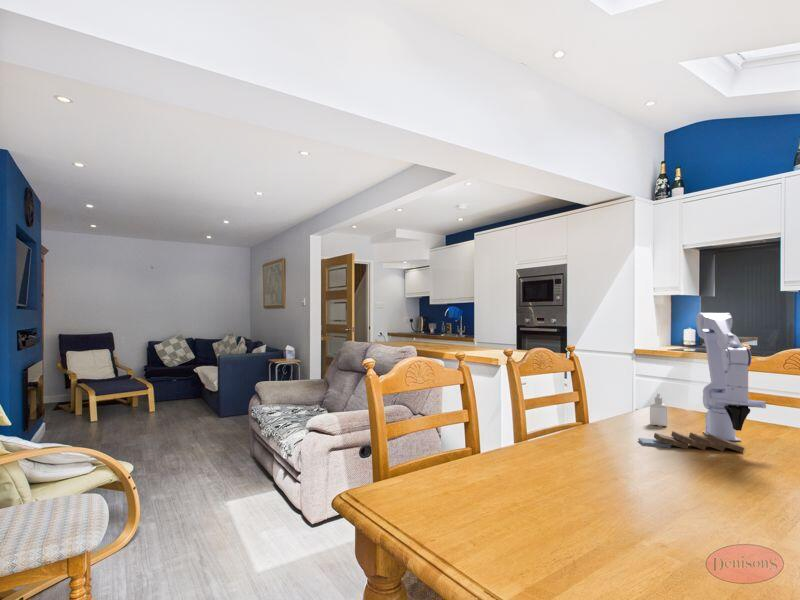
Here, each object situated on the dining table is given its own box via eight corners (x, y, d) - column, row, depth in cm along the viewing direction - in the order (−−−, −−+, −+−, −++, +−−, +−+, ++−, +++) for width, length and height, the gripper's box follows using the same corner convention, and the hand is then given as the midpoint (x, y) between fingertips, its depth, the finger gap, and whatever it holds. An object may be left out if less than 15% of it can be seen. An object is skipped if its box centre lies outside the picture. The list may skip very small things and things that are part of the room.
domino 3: (704, 450, 134) (677, 440, 135) (696, 445, 139) (670, 435, 140) (706, 445, 134) (679, 435, 135) (698, 440, 139) (672, 431, 140)
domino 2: (687, 449, 135) (660, 442, 136) (679, 444, 140) (653, 437, 141) (688, 444, 135) (661, 437, 136) (680, 439, 140) (654, 432, 141)
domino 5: (742, 452, 131) (714, 442, 133) (733, 448, 136) (706, 438, 138) (744, 448, 131) (716, 437, 133) (735, 443, 136) (708, 433, 138)
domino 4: (723, 451, 132) (695, 441, 134) (715, 446, 137) (688, 436, 139) (725, 446, 132) (697, 436, 134) (717, 441, 137) (690, 432, 139)
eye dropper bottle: (663, 427, 160) (663, 395, 160) (648, 424, 164) (647, 393, 165) (669, 426, 162) (668, 394, 163) (653, 422, 167) (653, 392, 167)
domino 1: (671, 449, 136) (643, 447, 138) (665, 444, 141) (638, 442, 143) (670, 444, 136) (643, 442, 138) (665, 439, 141) (638, 438, 143)
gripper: (715, 386, 132) (716, 431, 132) (771, 389, 129) (772, 435, 128) (705, 383, 139) (706, 425, 139) (758, 385, 135) (759, 428, 135)
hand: (737, 429), depth 134 cm, fingers closed
